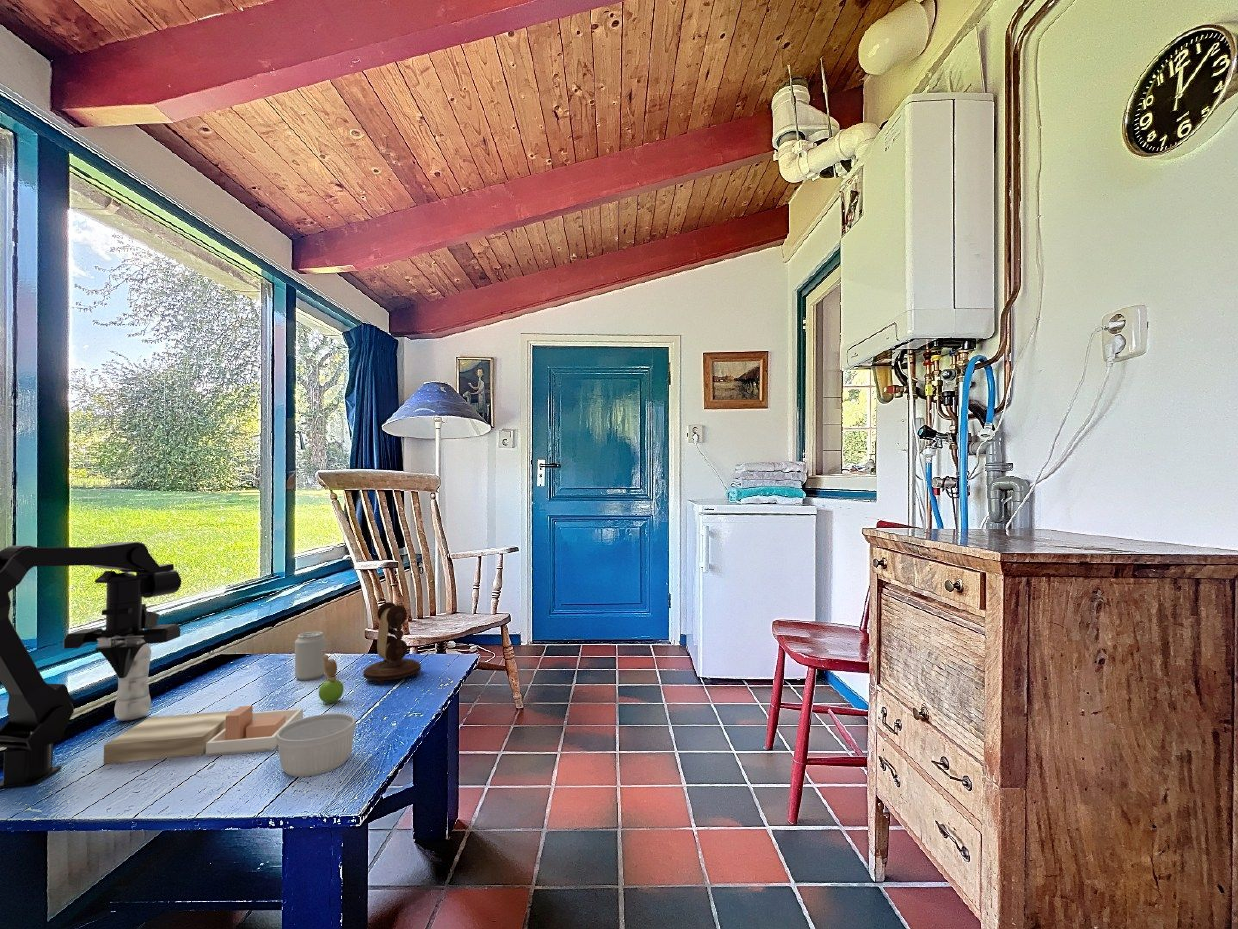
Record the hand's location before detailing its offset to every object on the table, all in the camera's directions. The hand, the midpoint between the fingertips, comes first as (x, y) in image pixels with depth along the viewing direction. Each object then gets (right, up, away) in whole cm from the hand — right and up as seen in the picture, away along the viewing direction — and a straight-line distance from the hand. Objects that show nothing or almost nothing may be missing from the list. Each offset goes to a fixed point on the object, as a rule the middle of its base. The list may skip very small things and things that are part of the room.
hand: (122, 677), depth 121 cm
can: (+17, -15, +41) cm, 47 cm away
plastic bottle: (-8, -14, +12) cm, 20 cm away
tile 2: (+29, -9, +1) cm, 31 cm away
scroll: (+41, -14, +39) cm, 58 cm away
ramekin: (+47, -12, -13) cm, 50 cm away
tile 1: (+24, -9, -2) cm, 26 cm away
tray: (+28, -12, 0) cm, 31 cm away
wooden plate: (+13, -13, -3) cm, 18 cm away
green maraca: (+33, -14, +20) cm, 41 cm away
